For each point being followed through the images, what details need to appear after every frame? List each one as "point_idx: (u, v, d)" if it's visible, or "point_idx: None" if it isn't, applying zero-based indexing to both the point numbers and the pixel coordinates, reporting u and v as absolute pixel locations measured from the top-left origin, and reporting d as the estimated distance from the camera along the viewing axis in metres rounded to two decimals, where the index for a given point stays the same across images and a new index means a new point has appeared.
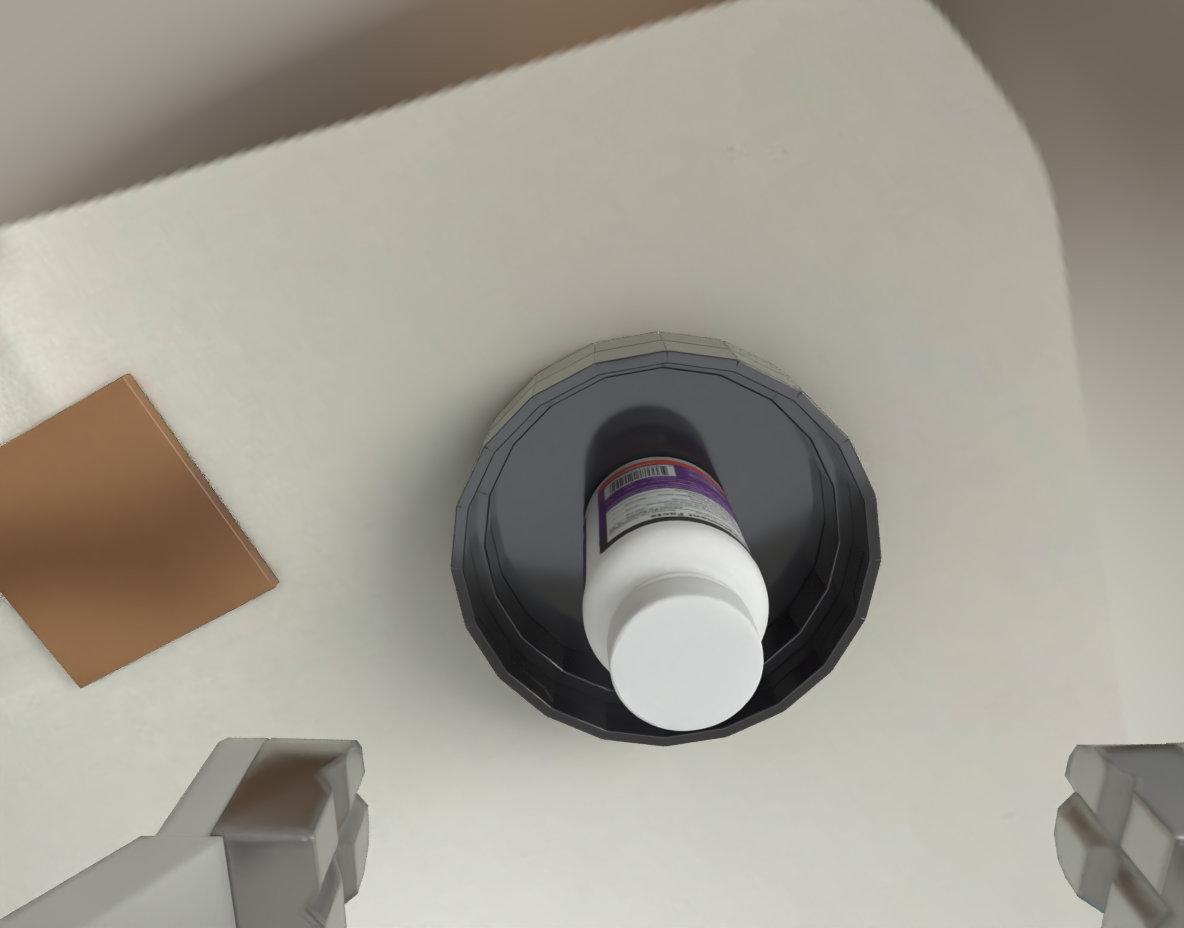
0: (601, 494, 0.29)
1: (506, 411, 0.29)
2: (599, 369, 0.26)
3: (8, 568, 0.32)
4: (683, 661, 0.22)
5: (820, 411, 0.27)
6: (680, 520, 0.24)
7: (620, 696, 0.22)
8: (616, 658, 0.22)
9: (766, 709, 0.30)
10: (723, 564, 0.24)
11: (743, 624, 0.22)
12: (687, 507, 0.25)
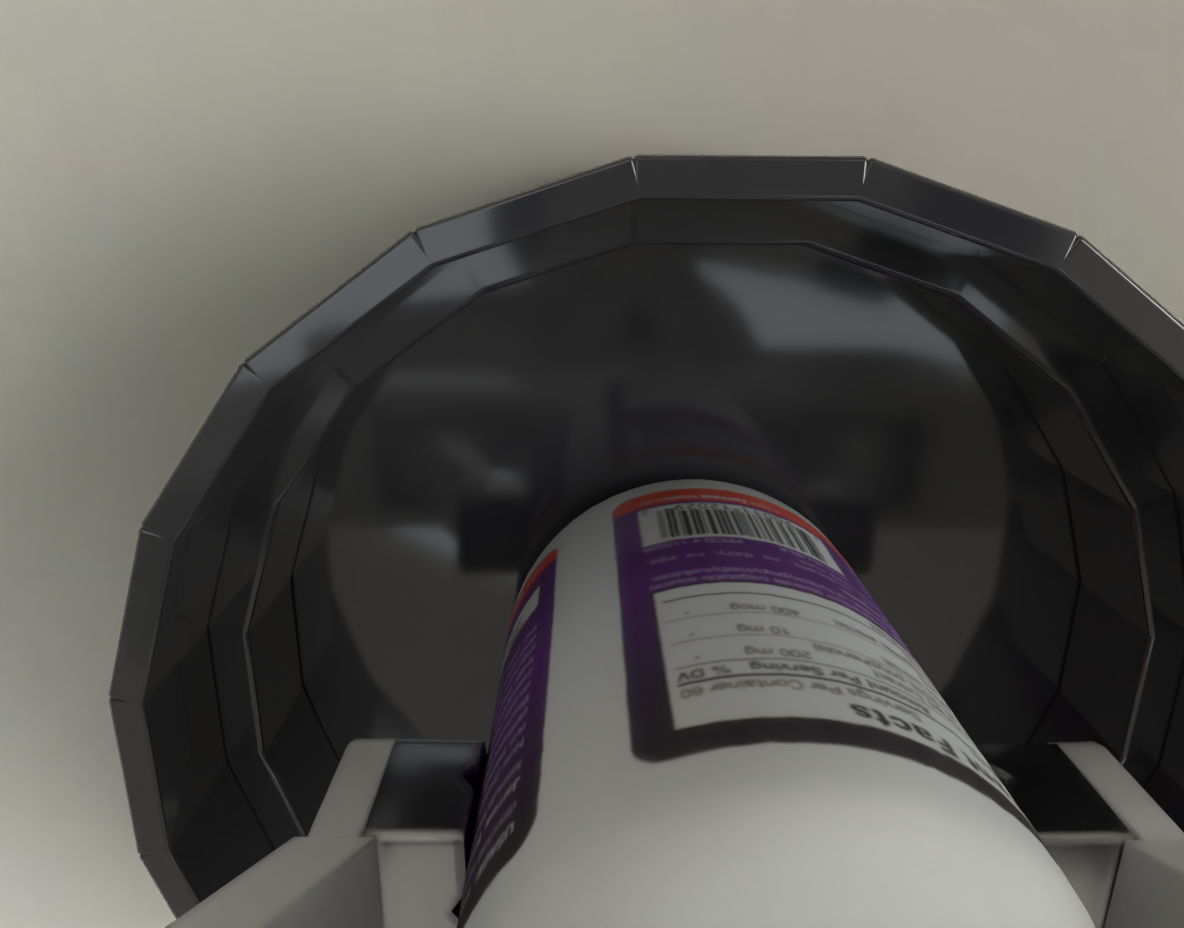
0: (628, 524, 0.11)
1: None
2: (868, 184, 0.08)
3: None
4: None
5: None
6: (965, 780, 0.07)
7: None
8: None
9: None
10: None
11: None
12: (939, 716, 0.08)
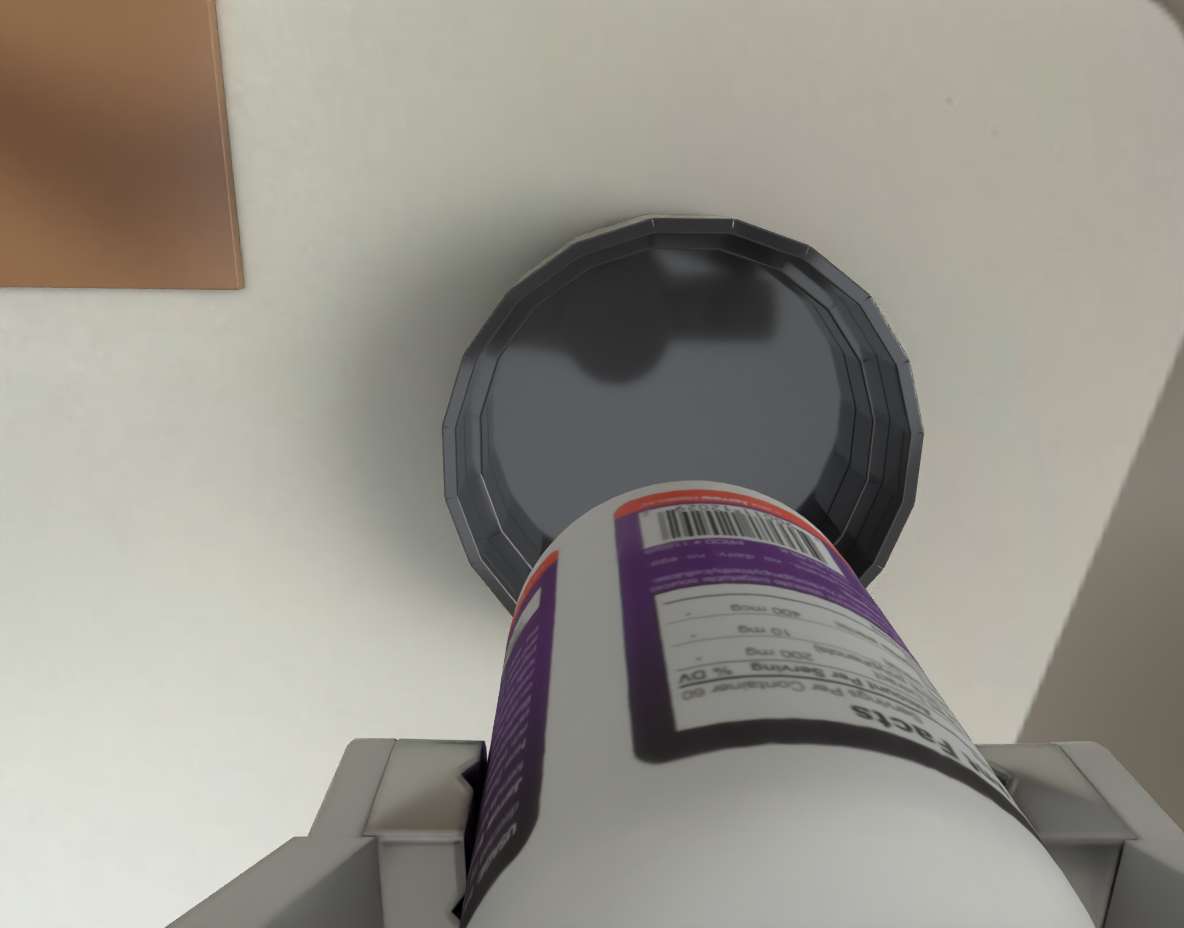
0: (629, 525, 0.11)
1: (599, 230, 0.25)
2: (734, 228, 0.23)
3: None
4: None
5: (914, 390, 0.24)
6: (966, 782, 0.07)
7: None
8: None
9: None
10: None
11: None
12: (940, 718, 0.08)
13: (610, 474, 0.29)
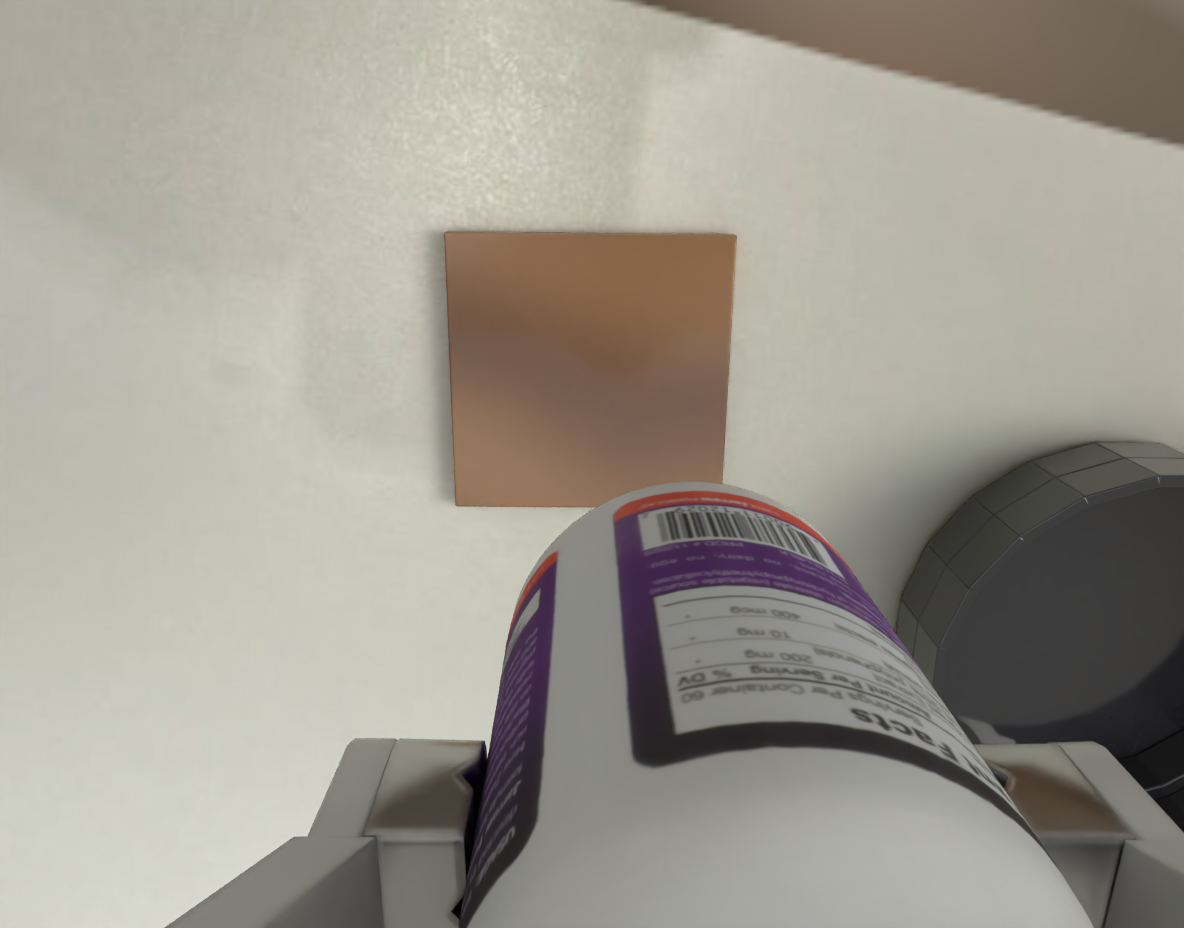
0: (629, 527, 0.11)
1: (1072, 466, 0.28)
2: None
3: (477, 353, 0.28)
4: None
5: None
6: (964, 784, 0.07)
7: None
8: None
9: None
10: None
11: None
12: (941, 720, 0.08)
13: (1028, 660, 0.32)
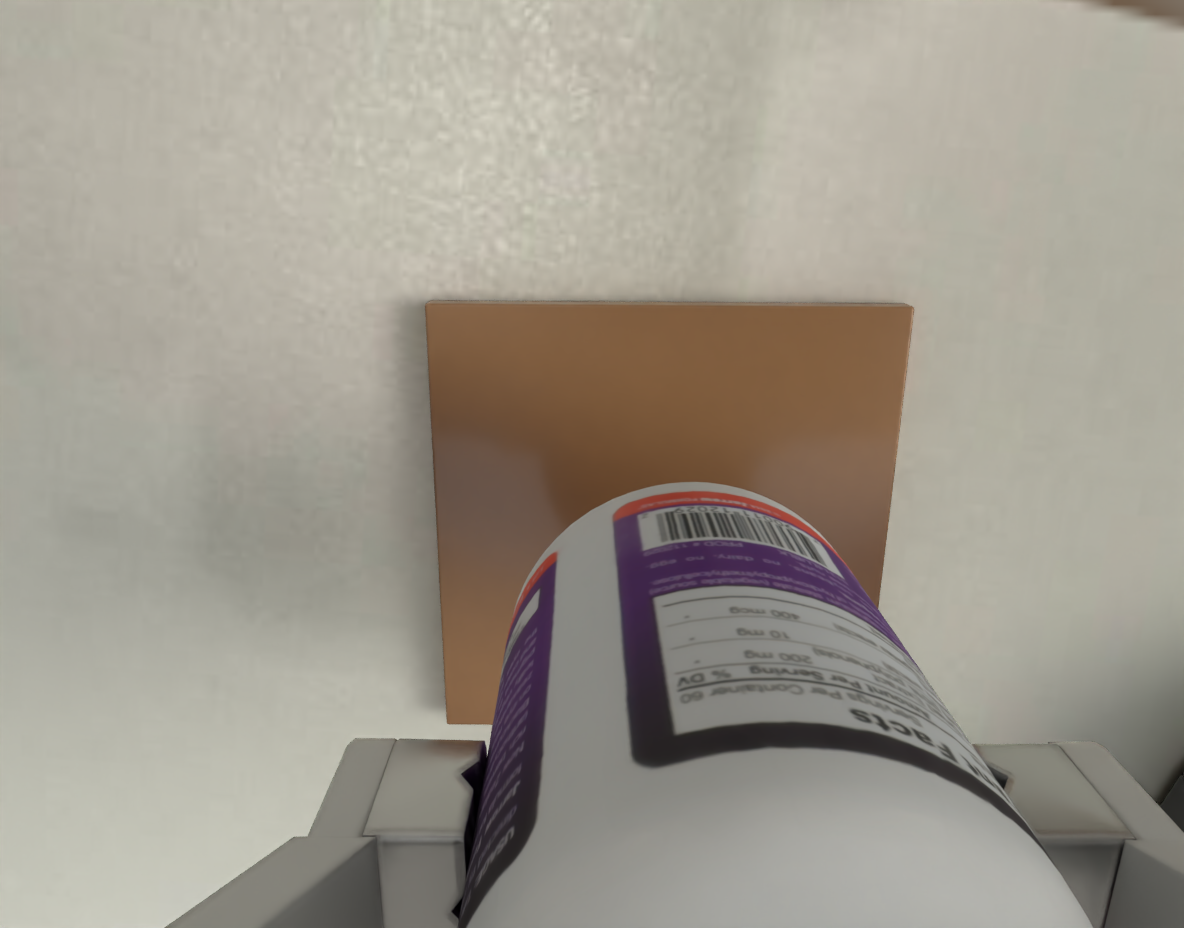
0: (628, 527, 0.11)
1: None
2: None
3: (480, 496, 0.17)
4: None
5: None
6: (965, 786, 0.07)
7: None
8: None
9: None
10: None
11: None
12: (940, 721, 0.08)
13: None
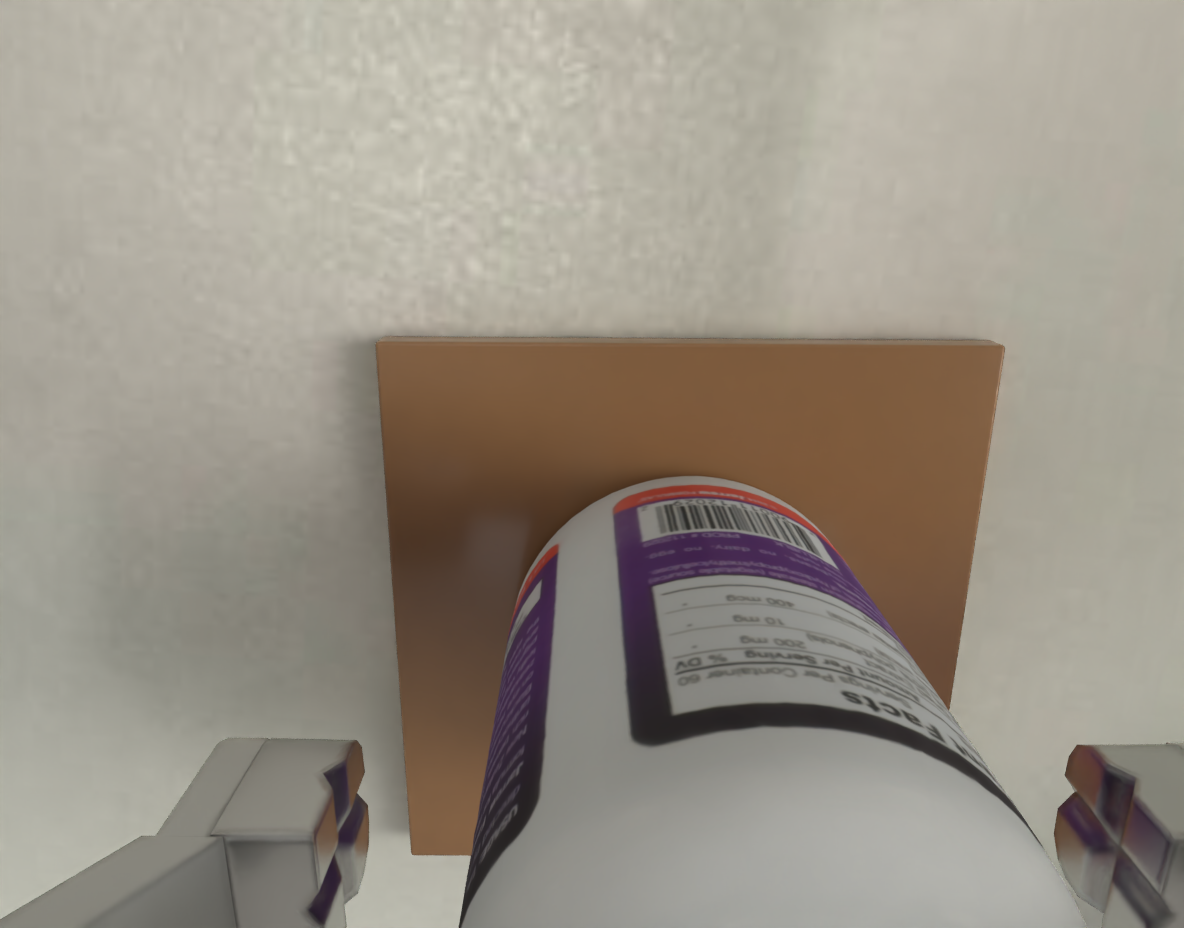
0: (628, 520, 0.11)
1: None
2: None
3: (449, 582, 0.13)
4: None
5: None
6: (952, 763, 0.07)
7: None
8: None
9: None
10: None
11: None
12: (928, 704, 0.08)
13: None
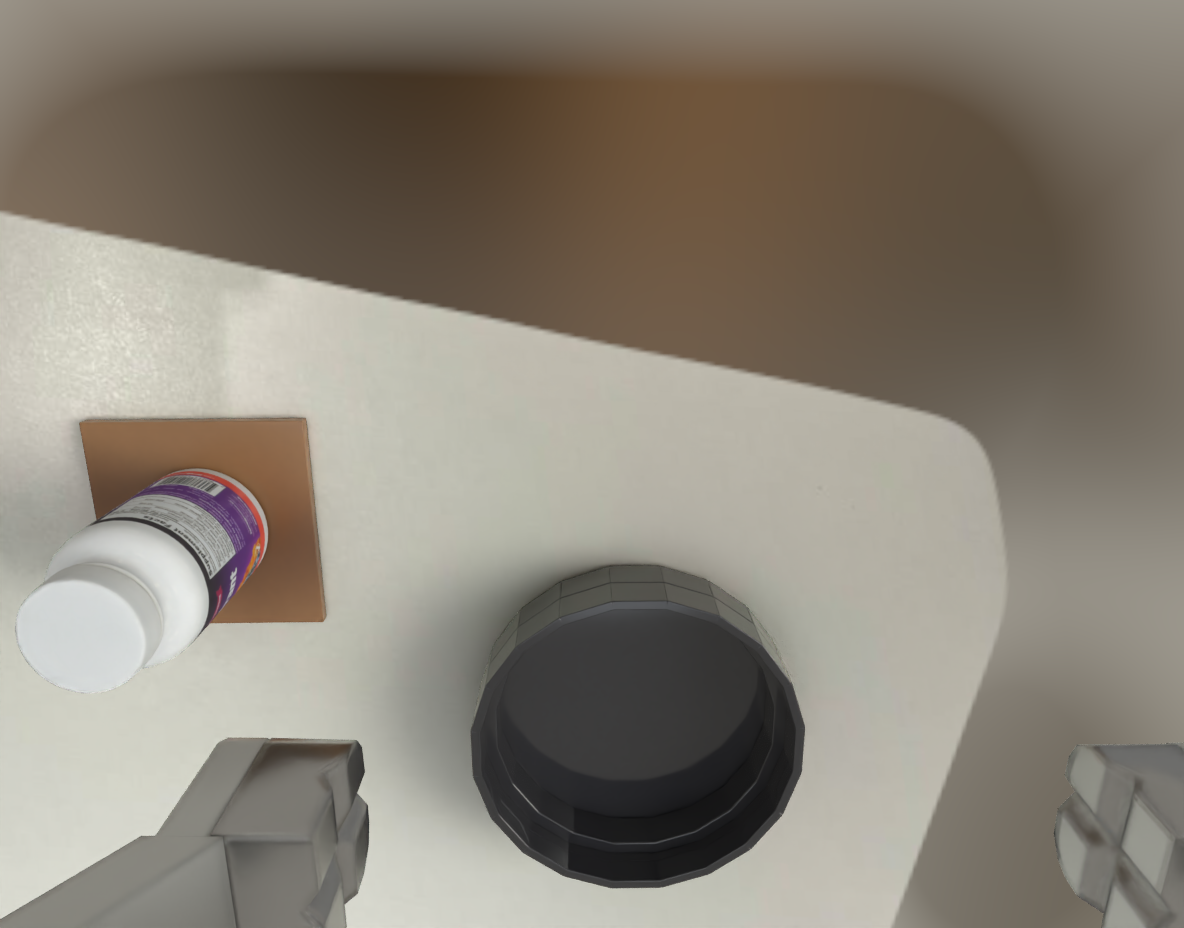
0: (155, 482, 0.34)
1: (577, 588, 0.36)
2: (668, 606, 0.34)
3: None
4: (78, 634, 0.27)
5: (796, 701, 0.35)
6: (161, 529, 0.29)
7: (17, 638, 0.27)
8: (24, 608, 0.27)
9: (649, 880, 0.38)
10: (168, 577, 0.29)
11: (135, 626, 0.27)
12: (182, 523, 0.31)
13: (590, 733, 0.40)
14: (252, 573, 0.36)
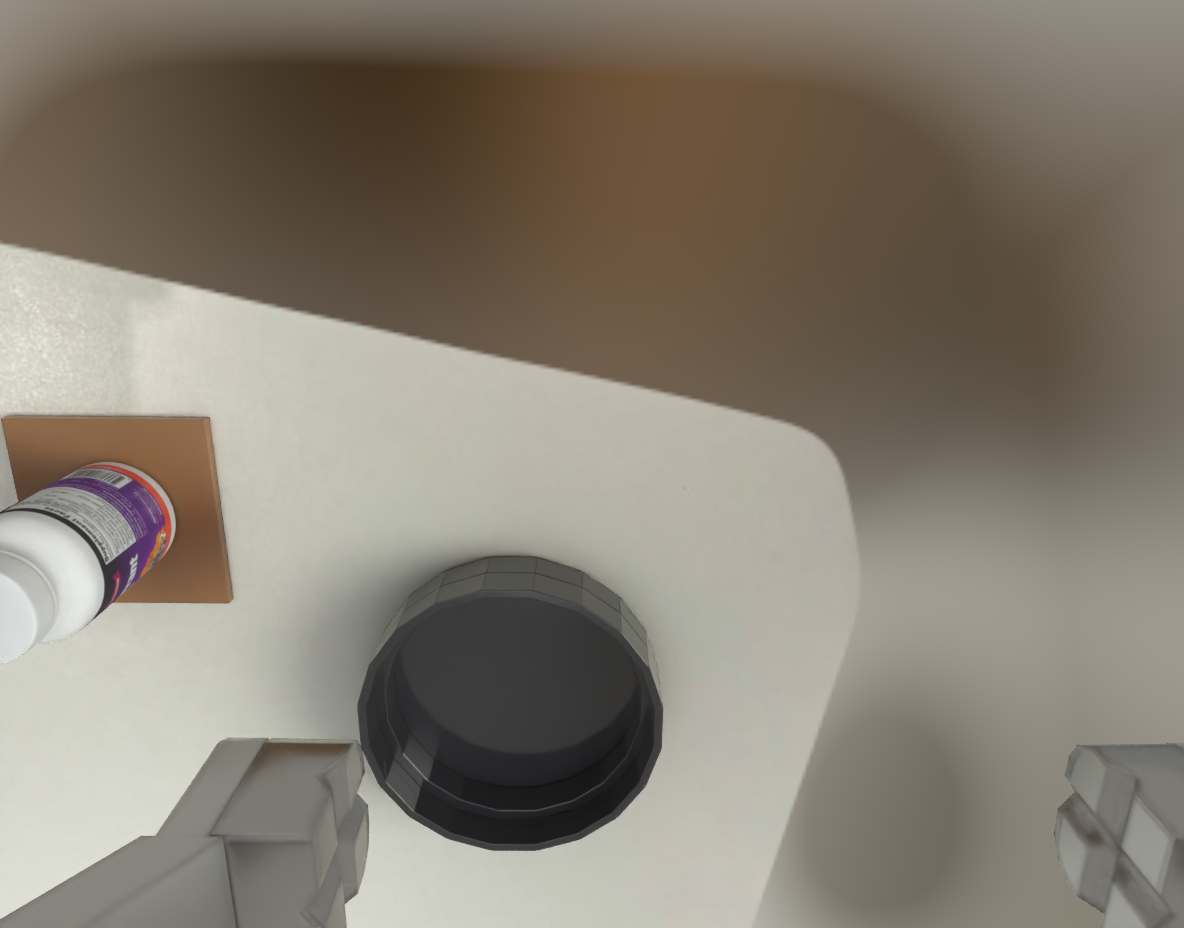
0: None
1: (458, 577, 0.39)
2: (533, 595, 0.37)
3: None
4: None
5: (654, 684, 0.39)
6: (59, 520, 0.33)
7: None
8: None
9: (525, 844, 0.41)
10: (63, 563, 0.32)
11: (26, 606, 0.30)
12: (82, 513, 0.34)
13: (478, 709, 0.43)
14: (160, 558, 0.39)
